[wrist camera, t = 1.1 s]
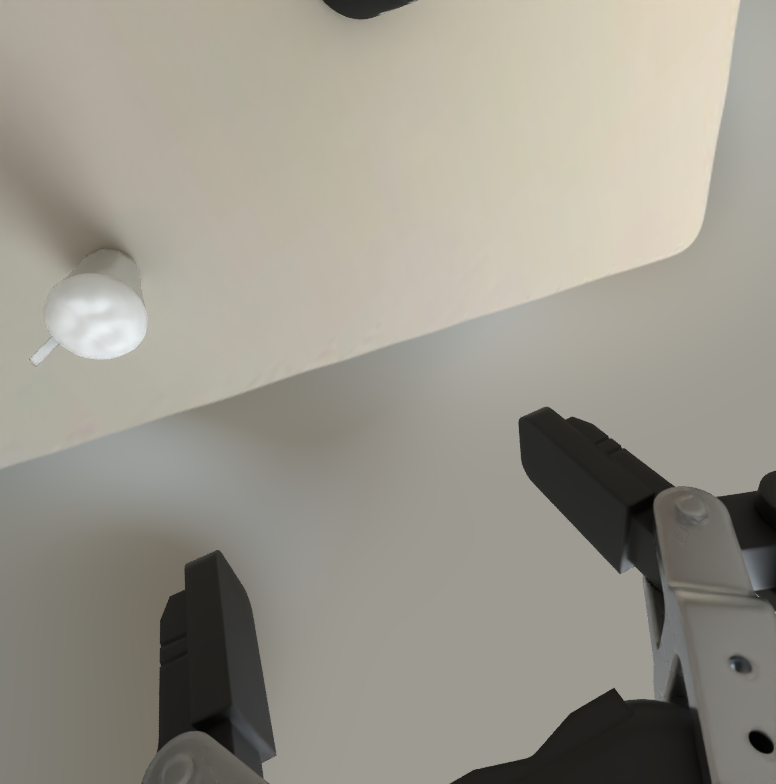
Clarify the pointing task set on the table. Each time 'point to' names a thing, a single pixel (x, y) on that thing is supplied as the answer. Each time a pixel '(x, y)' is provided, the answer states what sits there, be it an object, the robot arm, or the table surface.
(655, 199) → the table surface
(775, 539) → the robot arm
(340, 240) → the table surface
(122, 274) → the milkshake
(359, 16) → the beverage can
